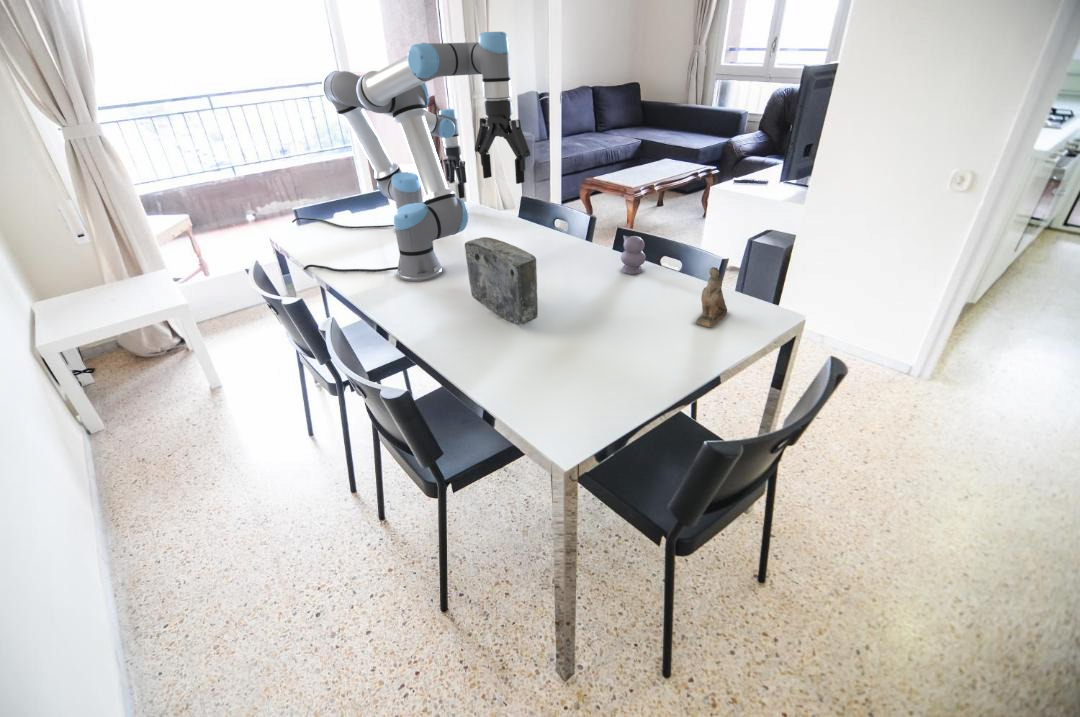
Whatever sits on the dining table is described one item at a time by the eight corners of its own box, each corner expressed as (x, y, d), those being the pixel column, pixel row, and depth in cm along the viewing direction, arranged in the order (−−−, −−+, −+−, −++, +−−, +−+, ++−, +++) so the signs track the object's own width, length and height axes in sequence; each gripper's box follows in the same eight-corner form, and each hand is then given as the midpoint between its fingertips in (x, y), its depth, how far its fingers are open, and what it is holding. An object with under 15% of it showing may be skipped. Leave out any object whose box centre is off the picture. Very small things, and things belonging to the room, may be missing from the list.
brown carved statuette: (709, 335, 136) (713, 280, 124) (691, 329, 139) (693, 274, 128) (730, 313, 142) (736, 258, 130) (712, 307, 145) (716, 253, 133)
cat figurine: (649, 270, 171) (652, 236, 165) (636, 276, 167) (638, 242, 160) (628, 264, 176) (630, 231, 170) (615, 271, 172) (617, 237, 165)
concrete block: (545, 326, 139) (543, 257, 128) (519, 336, 134) (514, 266, 124) (495, 295, 157) (489, 234, 147) (470, 303, 153) (463, 240, 143)
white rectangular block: (466, 201, 246) (464, 182, 241) (457, 204, 242) (455, 184, 237) (460, 200, 248) (458, 181, 243) (451, 202, 244) (449, 183, 240)
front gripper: (541, 99, 131) (543, 182, 142) (477, 97, 145) (483, 173, 156) (521, 101, 126) (525, 187, 137) (457, 99, 140) (465, 177, 151)
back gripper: (470, 146, 229) (476, 197, 241) (446, 143, 239) (452, 193, 251) (458, 148, 224) (464, 201, 236) (433, 145, 234) (441, 196, 246)
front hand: (503, 180), depth 147 cm, fingers open, 13 cm apart
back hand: (458, 196), depth 244 cm, fingers closed on white rectangular block, 5 cm apart
